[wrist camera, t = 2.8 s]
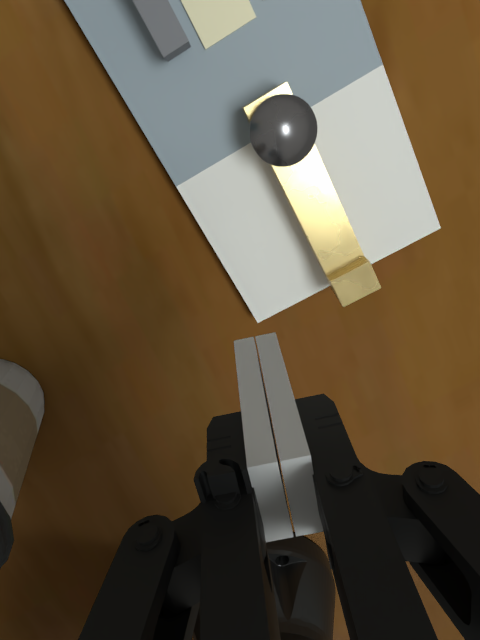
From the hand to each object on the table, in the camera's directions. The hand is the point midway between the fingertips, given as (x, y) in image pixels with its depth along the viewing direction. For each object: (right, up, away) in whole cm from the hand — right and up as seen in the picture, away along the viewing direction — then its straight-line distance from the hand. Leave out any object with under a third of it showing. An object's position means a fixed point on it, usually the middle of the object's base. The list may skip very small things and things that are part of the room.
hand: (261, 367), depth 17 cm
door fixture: (+1, +14, +12) cm, 18 cm away
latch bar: (+4, +10, +11) cm, 15 cm away
